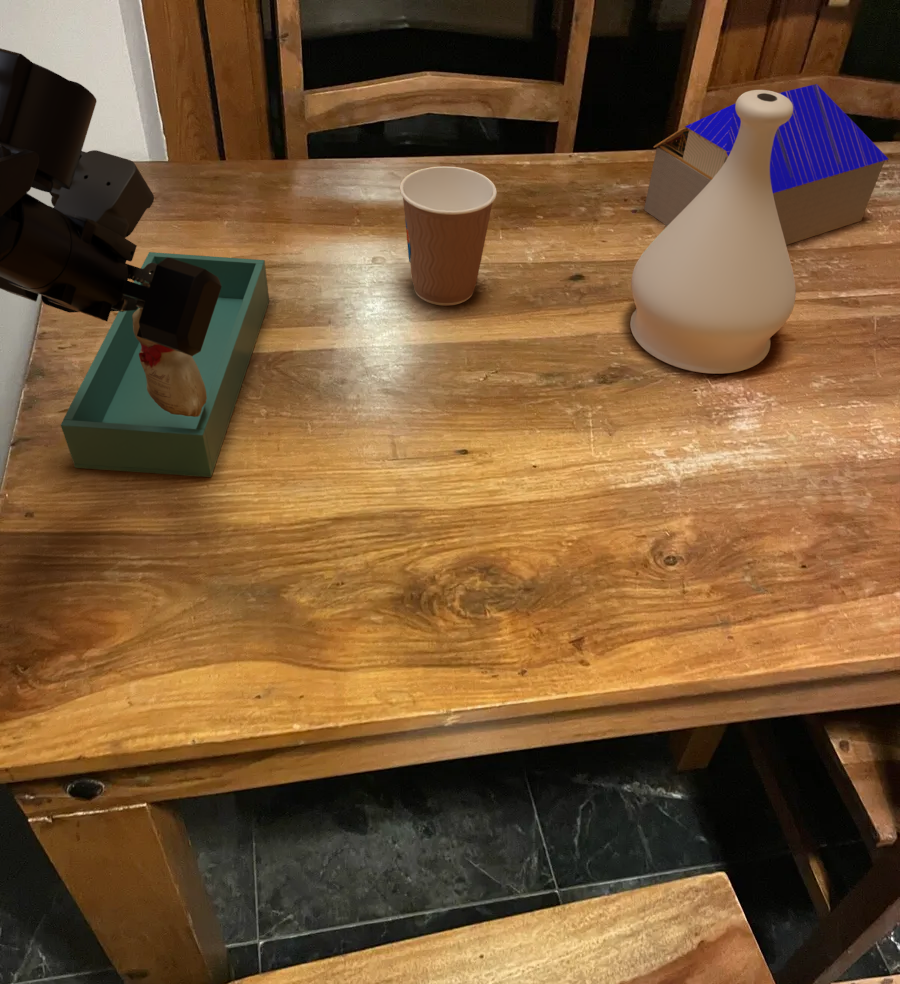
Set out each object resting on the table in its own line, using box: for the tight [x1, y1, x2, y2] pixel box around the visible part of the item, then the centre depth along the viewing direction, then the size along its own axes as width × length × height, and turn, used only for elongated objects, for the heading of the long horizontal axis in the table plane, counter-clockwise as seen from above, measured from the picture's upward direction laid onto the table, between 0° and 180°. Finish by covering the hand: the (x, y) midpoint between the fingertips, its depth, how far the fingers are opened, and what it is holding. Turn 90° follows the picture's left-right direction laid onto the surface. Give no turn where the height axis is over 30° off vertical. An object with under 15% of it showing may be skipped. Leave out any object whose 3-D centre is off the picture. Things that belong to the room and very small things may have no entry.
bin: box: [60, 251, 270, 478], centre depth 94 cm, size 30×13×5 cm, turn 177°
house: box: [643, 83, 890, 246], centre depth 117 cm, size 25×16×16 cm, turn 121°
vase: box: [629, 89, 797, 375], centre depth 95 cm, size 17×17×25 cm
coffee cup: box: [399, 165, 497, 307], centre depth 104 cm, size 10×10×12 cm
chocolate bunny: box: [132, 308, 207, 417], centre depth 80 cm, size 6×8×10 cm
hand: (164, 312), depth 79 cm, fingers closed on chocolate bunny, 5 cm apart
